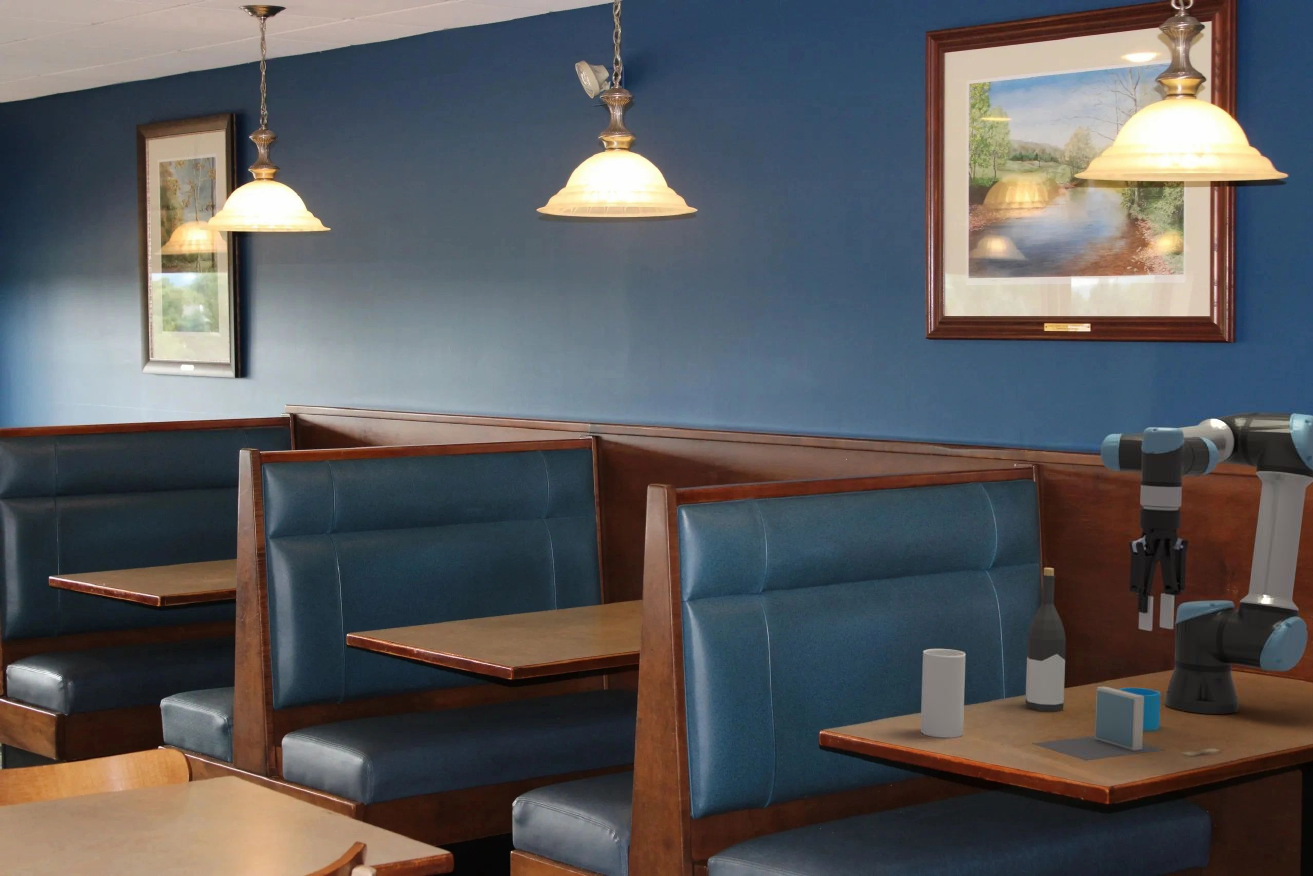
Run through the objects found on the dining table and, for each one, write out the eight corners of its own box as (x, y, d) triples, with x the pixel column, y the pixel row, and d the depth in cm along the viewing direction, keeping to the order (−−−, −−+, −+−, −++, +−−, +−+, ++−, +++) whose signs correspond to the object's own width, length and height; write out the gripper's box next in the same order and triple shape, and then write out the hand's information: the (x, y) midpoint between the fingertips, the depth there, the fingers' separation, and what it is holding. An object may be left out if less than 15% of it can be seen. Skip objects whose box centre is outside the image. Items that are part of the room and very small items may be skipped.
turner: (1204, 754, 295) (1204, 746, 295) (1229, 761, 290) (1229, 753, 290) (1141, 763, 288) (1142, 755, 288) (1166, 771, 282) (1167, 762, 282)
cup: (965, 730, 311) (968, 650, 310) (959, 739, 303) (962, 657, 302) (924, 726, 313) (926, 647, 313) (917, 735, 306) (919, 654, 305)
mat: (1109, 740, 306) (1109, 733, 306) (1164, 756, 293) (1164, 749, 293) (1031, 749, 296) (1032, 743, 296) (1085, 766, 284) (1085, 760, 284)
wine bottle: (1050, 703, 339) (1054, 565, 338) (1071, 711, 332) (1076, 570, 331) (1017, 704, 337) (1022, 566, 336) (1038, 712, 329) (1042, 571, 328)
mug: (1168, 735, 311) (1169, 694, 311) (1134, 738, 308) (1136, 696, 308) (1128, 722, 322) (1129, 683, 322) (1096, 724, 319) (1097, 685, 319)
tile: (1103, 737, 302) (1104, 686, 302) (1142, 749, 293) (1144, 696, 293) (1093, 739, 301) (1095, 687, 300) (1132, 750, 292) (1134, 697, 292)
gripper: (1178, 505, 307) (1174, 623, 308) (1111, 507, 298) (1107, 628, 299) (1208, 508, 301) (1204, 629, 302) (1141, 510, 292) (1136, 634, 293)
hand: (1155, 628), depth 300 cm, fingers open, 5 cm apart
